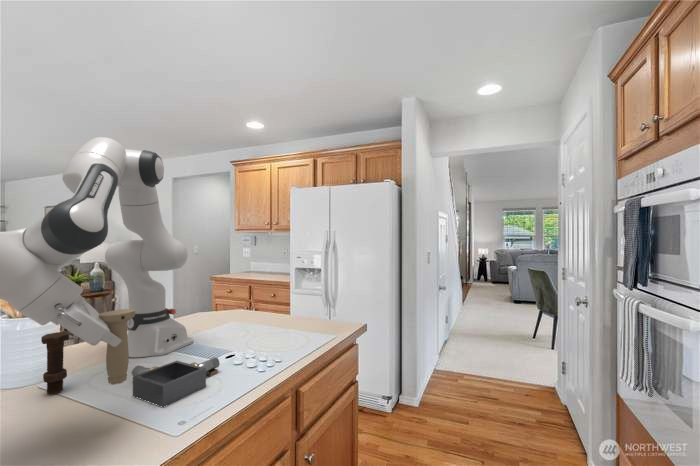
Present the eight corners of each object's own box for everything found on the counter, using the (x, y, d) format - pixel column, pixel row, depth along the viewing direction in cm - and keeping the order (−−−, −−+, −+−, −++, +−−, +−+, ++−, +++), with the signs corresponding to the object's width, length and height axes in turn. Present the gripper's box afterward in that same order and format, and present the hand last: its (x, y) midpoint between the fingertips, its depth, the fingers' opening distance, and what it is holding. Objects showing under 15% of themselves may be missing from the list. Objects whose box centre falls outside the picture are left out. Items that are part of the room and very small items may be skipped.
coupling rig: (183, 362, 106) (183, 347, 106) (230, 375, 97) (230, 357, 97) (113, 389, 88) (113, 370, 88) (162, 407, 78) (162, 386, 78)
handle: (95, 384, 70) (95, 313, 70) (128, 373, 76) (128, 307, 76) (105, 390, 68) (105, 317, 68) (139, 378, 73) (139, 310, 73)
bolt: (50, 399, 83) (51, 338, 83) (34, 397, 84) (35, 337, 84) (74, 388, 88) (74, 331, 88) (59, 386, 89) (59, 330, 89)
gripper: (73, 296, 59) (138, 339, 65) (67, 282, 74) (120, 319, 80) (39, 326, 56) (110, 368, 62) (40, 306, 71) (97, 341, 77)
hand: (116, 340), depth 71 cm, fingers closed on handle, 3 cm apart
